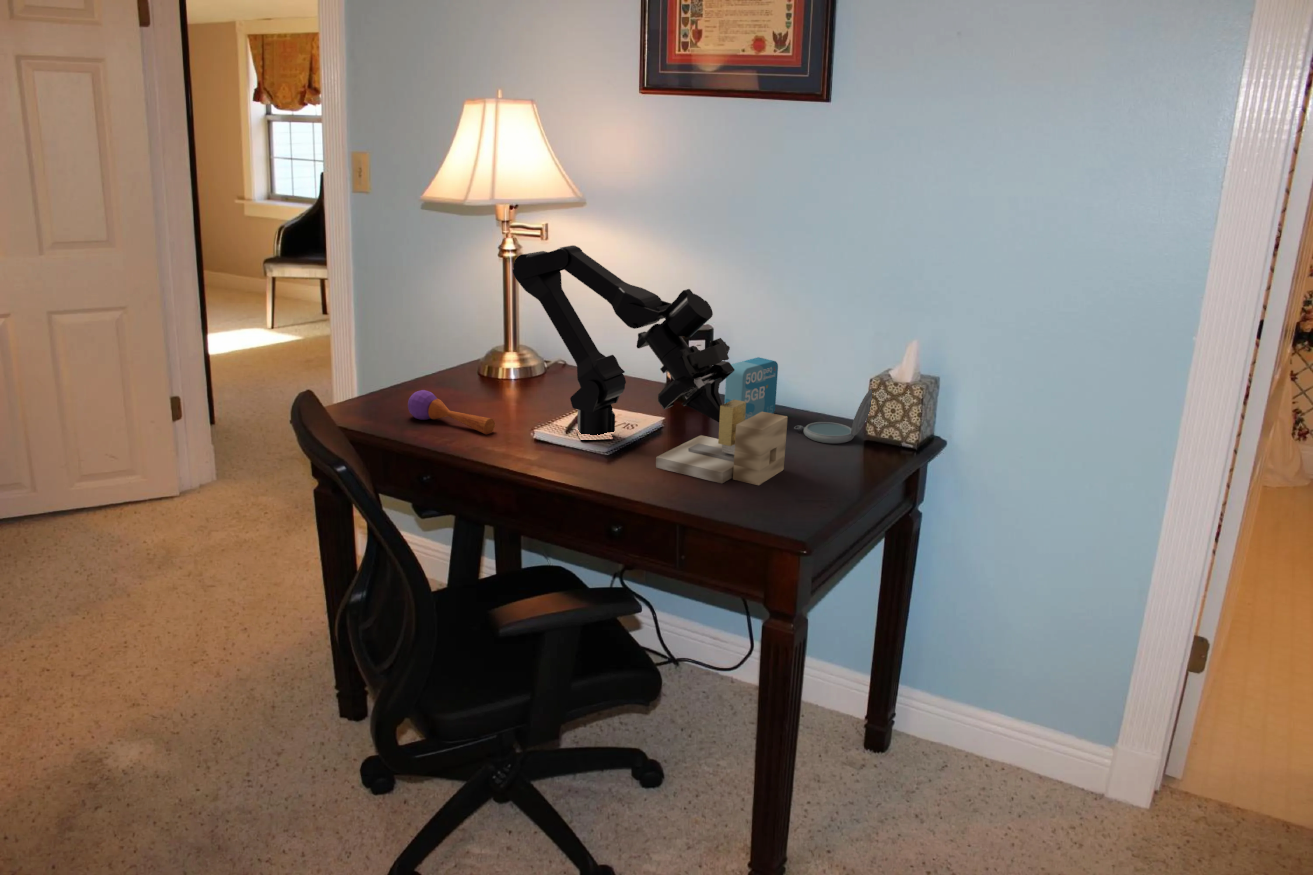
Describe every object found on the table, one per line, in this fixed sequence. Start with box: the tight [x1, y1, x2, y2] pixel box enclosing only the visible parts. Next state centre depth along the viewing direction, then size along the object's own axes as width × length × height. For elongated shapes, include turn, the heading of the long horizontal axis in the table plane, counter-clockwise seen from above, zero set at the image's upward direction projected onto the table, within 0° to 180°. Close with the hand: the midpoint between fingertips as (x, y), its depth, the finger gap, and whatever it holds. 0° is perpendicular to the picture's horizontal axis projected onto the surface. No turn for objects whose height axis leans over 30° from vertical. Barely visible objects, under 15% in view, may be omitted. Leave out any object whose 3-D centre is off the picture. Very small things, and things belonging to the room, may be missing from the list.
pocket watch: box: [793, 389, 873, 445], centre depth 210 cm, size 10×11×15 cm
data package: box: [724, 356, 779, 420], centre depth 220 cm, size 12×4×12 cm, turn 138°
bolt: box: [717, 400, 746, 455], centre depth 189 cm, size 7×5×9 cm
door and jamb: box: [655, 412, 789, 486], centre depth 191 cm, size 19×16×10 cm
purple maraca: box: [407, 389, 496, 436], centre depth 211 cm, size 6×6×20 cm
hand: (724, 422), depth 190 cm, fingers closed, pressing on bolt
